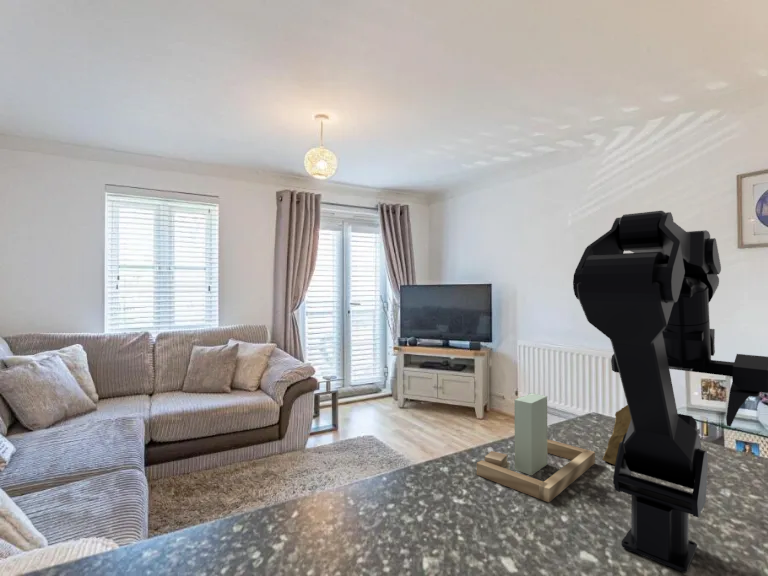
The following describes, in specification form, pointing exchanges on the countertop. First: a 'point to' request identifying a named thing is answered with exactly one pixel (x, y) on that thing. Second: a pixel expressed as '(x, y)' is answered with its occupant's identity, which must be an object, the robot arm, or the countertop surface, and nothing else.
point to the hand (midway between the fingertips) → (689, 417)
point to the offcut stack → (497, 459)
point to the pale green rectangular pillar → (530, 433)
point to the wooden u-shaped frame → (553, 484)
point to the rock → (617, 434)
